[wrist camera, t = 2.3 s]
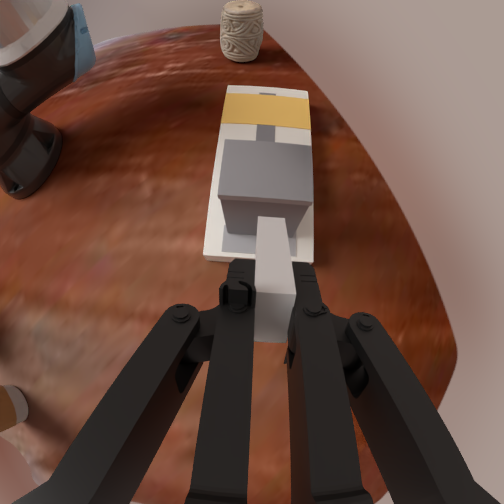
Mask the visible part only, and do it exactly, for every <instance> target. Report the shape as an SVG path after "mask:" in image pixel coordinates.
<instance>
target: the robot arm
mask: <svg viewBox="0 0 504 504" xmlns="http://www.w3.org/2000/svg"><path fill="white" fill-rule="evenodd" d="M95 61H96V57H95V52H94V48H93V45H92V41H91V37H90V34H89V31H88V27H87V24H86V19H85V15H84V11H83V8H82V5H81V4H75V5H71V6H70V7H69V6H68V3H67V1H66V0H0V186H1V187H2V189H3V190H4V192H5V193H7V194H8V195H10V196H11V197H13V198H15V199H22V198H25V197H27V196H29V195H31V194H32V193H33V192H35V191H36V190H37V189H38V188H39V187H40V186H41V185H42V184H43V183H44V181H45V180H46V179H47V177H48V176H49V175H50V173H51V172H52V170H53V168H54V166H55V164H56V162H57V160H58V158H59V155H60V152H61V148H62V136H61V133H60V132H59V131H58V129H57V128H56V127H55V126H54V125H53V124H51V123H49V122H47V121H45V120H43V119H40V118H38V117H36V116H34V115H32V114H30V112H31V111H32V110H33V109H35V108H36V107H37V106H39V105H40V104H41V103H43V102H44V101H45V100H47V99H48V98H50V97H51V96H52V95H54V94H55V93H57V92H58V91H60V90H61V89H63V88H64V87H66V86H67V85H69V84H71V83H72V82H75V81H76V80H77V78H79V77H80V76H82V75H83V74H85V73H86V72H88V71H89V70H90V69H91V68H92V67H93V66H94V64H95ZM287 337H288V348H287V352H286V356H285V360H284V364H286V363H287V374H288V395H289V420H290V452H291V504H373V500H372V497H371V495H370V493H369V492H367V491H366V490H365V489H364V488H363V486H362V481H361V472H360V465H359V457H358V450H357V444H356V437H355V431H354V425H353V419H352V413H351V408H352V410H353V413H354V415H355V417H356V419H357V421H358V423H359V426H360V428H361V430H362V432H363V434H364V437H365V439H366V441H367V443H368V445H369V448H370V450H371V452H372V454H373V457H374V459H375V461H376V463H377V466H378V468H379V470H380V472H381V475H382V477H383V479H384V482H385V484H386V486H387V488H388V491H389V493H390V495H391V498H392V500H393V502H394V504H500V503H499V502H498V501H497V500H496V499H495V498H493V497H492V496H491V495H490V494H489V493H488V492H487V491H485V490H484V489H483V488H482V487H481V486H480V485H478V484H477V483H476V482H475V481H474V480H473V477H472V475H471V473H470V471H469V469H468V467H467V465H466V463H465V461H464V459H463V457H462V455H461V453H460V451H459V449H458V447H457V446H456V444H455V442H454V440H453V438H452V436H451V434H450V433H449V431H448V429H447V427H446V426H445V424H444V422H443V420H442V419H441V417H440V415H439V413H438V412H437V410H436V408H435V407H434V405H433V403H432V402H431V400H430V398H429V397H428V395H427V393H426V392H425V390H424V388H423V387H422V385H421V384H420V382H419V380H418V379H417V377H416V376H415V374H414V373H413V371H412V369H411V368H410V366H409V365H408V363H407V362H406V360H405V359H404V357H403V356H402V354H401V353H400V351H399V350H398V348H397V347H396V345H395V344H394V342H393V341H392V339H391V338H390V336H389V335H388V333H387V332H386V330H385V329H384V328H383V326H382V325H381V323H380V322H379V321H378V320H377V319H376V318H375V317H374V316H372V315H371V314H368V313H364V312H358V313H355V314H353V315H352V316H351V317H350V319H346V318H342V317H339V316H336V315H333V314H332V313H330V311H329V309H328V307H327V306H326V305H325V304H324V303H322V299H321V295H320V290H319V286H318V283H317V278H316V274H315V270H314V268H313V267H312V266H311V265H310V264H309V263H308V262H296V261H291V254H290V248H289V241H288V235H287V229H286V223H285V218H276V217H262V216H258V223H257V237H256V251H255V260H253V259H238V258H235V259H234V260H233V261H232V262H231V263H230V264H229V269H228V274H227V279H226V281H225V282H224V283H222V284H221V286H220V288H219V305H218V306H217V307H215V308H213V309H210V310H206V311H200V312H198V310H197V309H196V308H195V307H194V306H191V305H189V304H176V305H173V306H171V307H169V308H168V309H167V310H166V311H165V312H164V314H163V315H162V316H161V318H160V319H159V320H158V322H157V323H156V324H155V326H154V327H153V328H152V330H151V331H150V332H149V334H148V335H147V337H146V338H145V339H144V341H143V342H142V343H141V345H140V346H139V347H138V349H137V350H136V352H135V353H134V354H133V356H132V357H131V358H130V360H129V361H128V363H127V364H126V365H125V367H124V368H123V370H122V371H121V372H120V374H119V375H118V377H117V378H116V380H115V381H114V382H113V384H112V385H111V387H110V388H109V389H108V391H107V392H106V394H105V395H104V397H103V398H102V400H101V401H100V402H99V404H98V405H97V407H96V408H95V410H94V411H93V413H92V414H91V416H90V417H89V419H88V420H87V422H86V423H85V425H84V426H83V428H82V429H81V431H80V432H79V434H78V435H77V437H76V438H75V440H74V441H73V443H72V444H71V446H70V447H69V449H68V450H67V452H66V454H65V455H64V457H63V458H62V460H61V461H60V463H59V465H58V466H57V468H56V469H55V471H54V473H53V474H52V476H51V477H50V479H49V480H48V481H47V482H45V483H43V484H42V485H40V486H39V487H37V488H36V489H34V490H33V491H31V492H29V493H28V494H26V495H25V496H23V497H21V498H20V499H18V500H16V501H15V502H13V503H12V504H129V503H130V502H131V500H132V498H133V496H134V494H135V492H136V490H137V489H138V487H139V485H140V483H141V481H142V479H143V477H144V475H145V474H146V472H147V470H148V468H149V466H150V464H151V462H152V460H153V458H154V457H155V455H156V453H157V451H158V449H159V447H160V445H161V443H162V441H163V439H164V437H165V436H166V434H167V432H168V430H169V428H170V426H171V424H172V422H173V420H174V418H175V416H176V415H177V413H178V411H179V409H180V407H181V405H182V403H183V401H184V399H185V397H186V395H187V393H188V391H189V390H190V388H191V386H192V384H193V382H194V380H195V378H196V376H197V374H198V372H199V370H200V368H201V366H202V364H203V362H204V361H210V362H209V368H208V374H207V380H206V386H205V392H204V398H203V404H202V411H201V417H200V424H199V430H198V437H197V443H196V450H195V457H194V464H193V471H192V478H191V485H190V490H189V493H188V495H187V497H186V500H185V503H184V504H247V485H248V464H249V442H250V420H251V397H252V373H253V348H254V341H255V342H275V343H286V341H287ZM350 406H351V408H350Z"/></svg>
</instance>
